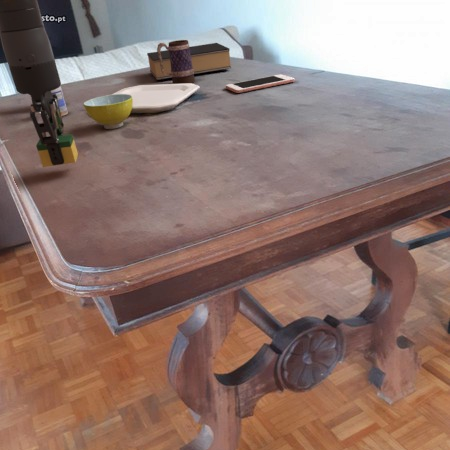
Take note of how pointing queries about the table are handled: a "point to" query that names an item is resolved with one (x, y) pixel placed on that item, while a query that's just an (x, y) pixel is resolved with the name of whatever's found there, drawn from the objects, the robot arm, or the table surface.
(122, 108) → the bowl
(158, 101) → the plate
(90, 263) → the table surface
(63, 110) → the pill bottle
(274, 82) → the cell phone
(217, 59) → the book
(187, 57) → the mug
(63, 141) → the sponge
